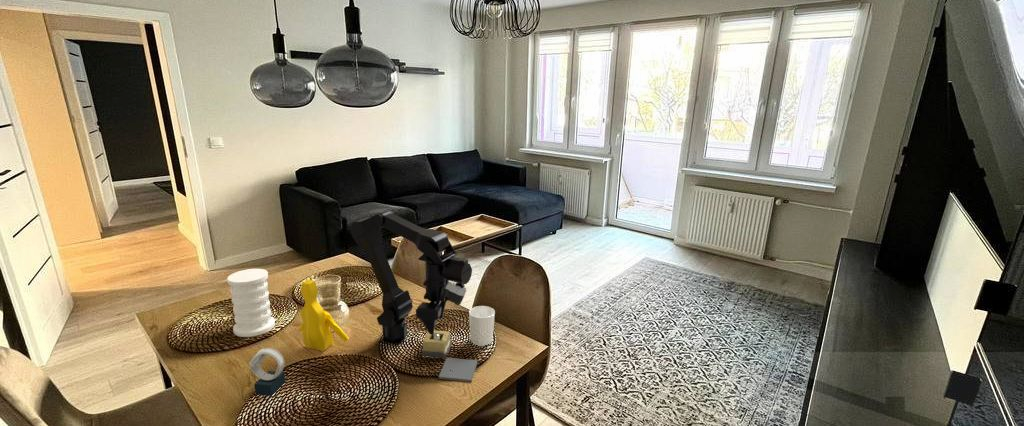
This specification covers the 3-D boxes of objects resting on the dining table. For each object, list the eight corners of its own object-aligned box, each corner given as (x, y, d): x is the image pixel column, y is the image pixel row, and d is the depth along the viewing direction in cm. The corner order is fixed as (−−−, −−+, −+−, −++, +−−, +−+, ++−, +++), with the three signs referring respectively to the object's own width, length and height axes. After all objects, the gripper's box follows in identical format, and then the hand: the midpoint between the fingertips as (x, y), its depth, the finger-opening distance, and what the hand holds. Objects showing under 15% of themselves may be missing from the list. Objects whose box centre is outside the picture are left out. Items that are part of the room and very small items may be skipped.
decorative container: (224, 332, 136) (216, 278, 132) (258, 315, 147) (251, 265, 142) (251, 340, 132) (243, 285, 128) (283, 323, 143) (277, 272, 138)
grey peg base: (421, 357, 126) (421, 340, 125) (428, 344, 133) (428, 327, 132) (445, 359, 126) (445, 342, 124) (451, 346, 132) (451, 329, 131)
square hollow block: (423, 350, 126) (422, 341, 125) (429, 338, 132) (429, 329, 132) (444, 352, 125) (444, 343, 125) (450, 340, 132) (450, 331, 131)
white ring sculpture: (263, 380, 114) (258, 342, 111) (291, 383, 113) (287, 345, 111) (248, 394, 109) (242, 355, 106) (278, 397, 108) (273, 358, 105)
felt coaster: (438, 378, 117) (438, 376, 117) (447, 359, 126) (447, 357, 125) (471, 381, 116) (471, 379, 116) (477, 362, 125) (477, 360, 125)
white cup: (490, 349, 131) (491, 319, 129) (465, 345, 133) (465, 316, 130) (496, 336, 139) (497, 307, 136) (473, 332, 140) (473, 304, 138)
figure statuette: (353, 345, 131) (349, 277, 126) (336, 359, 124) (330, 288, 118) (305, 334, 136) (298, 269, 131) (285, 347, 129) (277, 279, 123)
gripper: (455, 292, 114) (455, 345, 118) (470, 266, 131) (469, 313, 135) (414, 289, 115) (415, 341, 119) (434, 263, 133) (435, 310, 137)
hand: (436, 325), depth 127 cm, fingers open, 9 cm apart
